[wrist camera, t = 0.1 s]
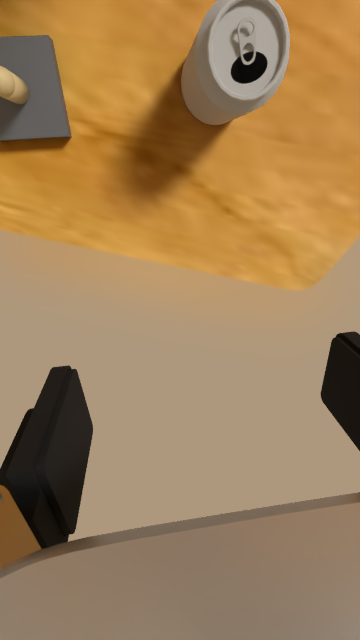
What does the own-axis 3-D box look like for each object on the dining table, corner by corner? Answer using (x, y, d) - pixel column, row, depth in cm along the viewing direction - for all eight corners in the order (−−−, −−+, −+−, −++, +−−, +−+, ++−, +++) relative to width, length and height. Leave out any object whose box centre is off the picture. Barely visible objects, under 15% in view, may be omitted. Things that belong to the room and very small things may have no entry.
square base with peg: (-34, 43, 28) (-77, 15, 23) (52, 40, 29) (31, 11, 23) (-4, 141, 32) (-35, 137, 27) (71, 137, 33) (56, 132, 27)
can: (189, 134, 34) (211, 123, 24) (171, 51, 30) (187, -6, 20) (253, 114, 34) (303, 94, 23) (242, 28, 30) (295, -42, 20)
